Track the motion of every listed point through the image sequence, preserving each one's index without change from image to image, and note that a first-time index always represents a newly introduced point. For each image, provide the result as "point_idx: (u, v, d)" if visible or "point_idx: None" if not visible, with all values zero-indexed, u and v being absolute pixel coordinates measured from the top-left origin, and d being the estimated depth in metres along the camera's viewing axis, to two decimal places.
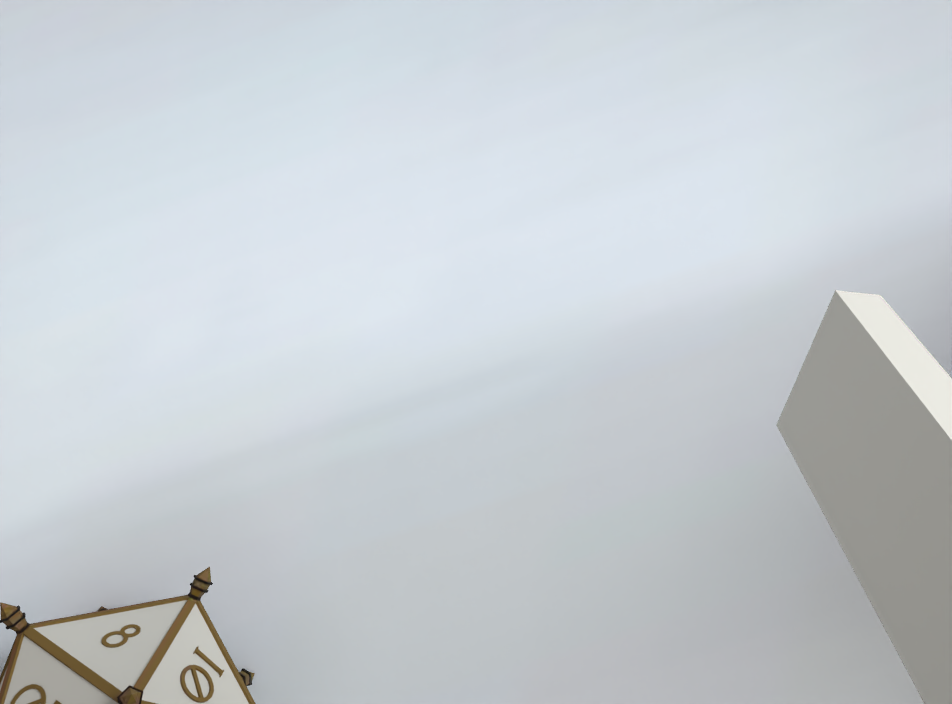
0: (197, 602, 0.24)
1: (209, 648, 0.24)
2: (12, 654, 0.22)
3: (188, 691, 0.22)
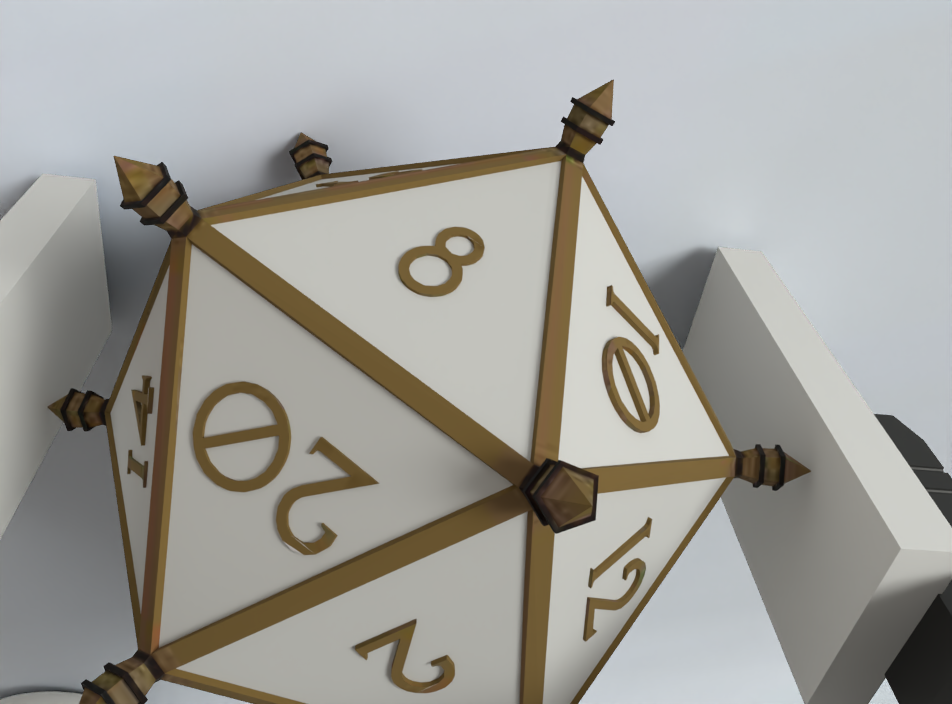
0: (584, 168, 0.10)
1: (625, 285, 0.10)
2: (171, 291, 0.08)
3: (621, 406, 0.09)
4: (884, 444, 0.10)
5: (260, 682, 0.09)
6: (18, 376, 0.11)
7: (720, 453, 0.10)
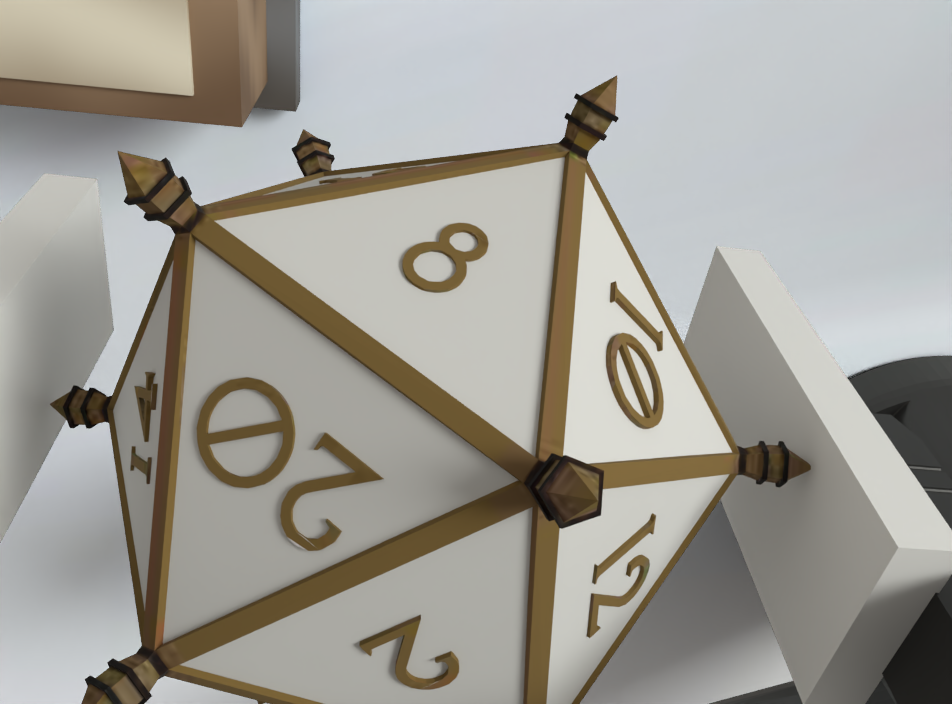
0: (587, 164, 0.10)
1: (628, 281, 0.10)
2: (175, 286, 0.08)
3: (625, 402, 0.09)
4: (882, 443, 0.10)
5: (264, 678, 0.08)
6: (20, 376, 0.11)
7: (723, 449, 0.10)
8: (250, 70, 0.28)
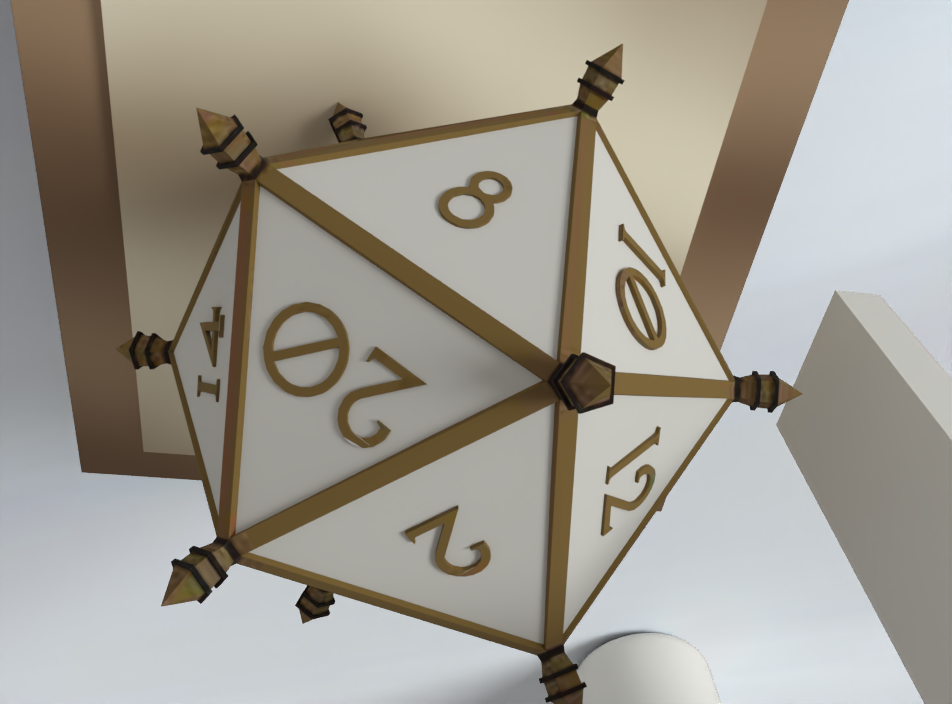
0: (597, 123, 0.11)
1: (634, 225, 0.11)
2: (242, 226, 0.10)
3: (633, 327, 0.10)
4: None
5: (322, 566, 0.10)
6: None
7: (720, 377, 0.12)
8: None
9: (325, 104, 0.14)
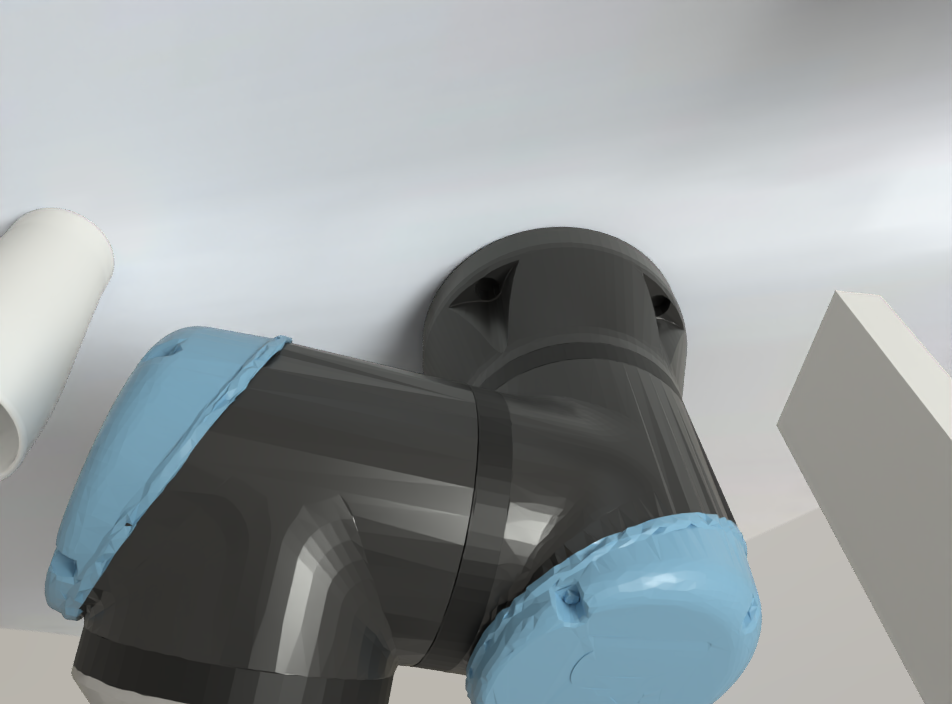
0: None
1: None
2: None
3: None
4: None
5: None
6: None
7: None
8: None
9: None
